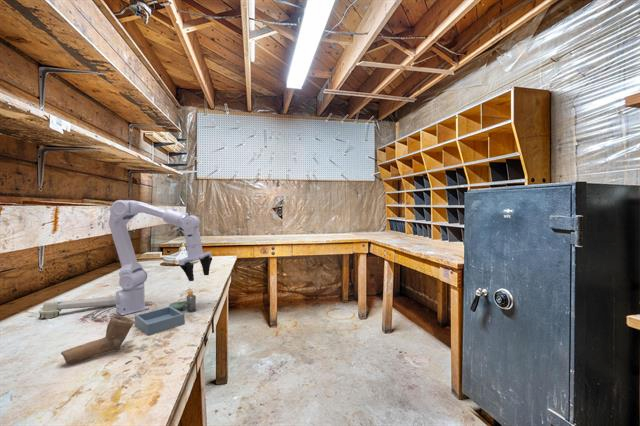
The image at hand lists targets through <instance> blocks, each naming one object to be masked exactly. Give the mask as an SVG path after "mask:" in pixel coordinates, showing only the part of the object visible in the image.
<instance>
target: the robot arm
mask: <svg viewBox="0 0 640 426" xmlns="http://www.w3.org/2000/svg"><path fill="white" fill-rule="evenodd" d="M109 211H110V214H109V220H108V226H109V229H110V233H111V236H112V240H113V243H114V246H115V248H116V253H117V256H118V259H119V262H120V266H121V268H120V269H119V272H118V276H119V280H118V284H119V286H120V288H121V289H120V290H117V291H116V293H115V296H116V306H115V311H116V313H118V314H119V316H126V315H130V314H134V313H138V312H141V311H146V310H149V306H147V305H146V304H145V303H146V299H145V298H146V297H145V282H146V281H147V279H148V273H147V271H146V270H145V269H144V268H143V265H142V264H141V263H140V262H138V260H137V255H136V254H135V250H134V249H135V248H134V247H133V243H132V240H131V236H130V232H129V229H128V227H127V224H129V222H130V220H131V219H133V218H134V217H135V216H137V215H138V214H139V213H142V214H143V213H144V214H146V215H150V216H153V217H157V218H162V220H163V222H164V223H166V224H169V225H172V226H175V227H179V228H181V229H182V230H183V233H184V240H185V247H186V254H187V257H184V258H181V259H178V265H179V267H180V269H182V271H183V272H184V274H185V276H186V278H187V280H188V281H189V282H194V281H195V276H194V265H195V264H194V263H193V262H196V261H199V262H200V264H201V267H202V268H201V269H202V273H203V275H204V276H209V274H210V270H211V269H210V267H211V263H212V261H213V256H212V255H213V254H212V251H205V252H204V251H203V244H202V237H201V232H200V227H199V226H200V225H201V221H200V218H199V217H198V216H196V215H194V214H191V215H189V213H188V212H184V213H183V212H181V211H178V209H177V208H168V209H166V210H165V209H163V208H159V207H157V206H154V205H152V204H149V203H146V202H144V201H143V202H142V201H138V200H135V199H131V200H130V199H127V200H123V199H118V200H115V201H114V202H113V203H111V206H110V207H109Z"/></svg>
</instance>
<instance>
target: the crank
mask: <svg viewBox="0 0 640 426" xmlns="http://www.w3.org/2000/svg"><path fill="white" fill-rule="evenodd" d="M189 295H194V291H193V290H188V291H187V296H189ZM169 306H171V307H173V308H174V309H176V310H179V309H182V308H184V309H185V308H187V299H186V300H183V301H176V302H175V301H174V302H171V303H169V305H168V307H169Z"/></svg>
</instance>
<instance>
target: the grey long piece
mask: <svg viewBox="0 0 640 426" xmlns="http://www.w3.org/2000/svg"><path fill="white" fill-rule="evenodd" d="M114 306H115V307H116V295H112V294H110V295H108V296H99V297H90V298H80V299H71V300H62V301H61V300H60V301H59V300H46V301H44V303H43V305H42V308H41V309H39V310H38V314H39V319H41V320H43V319H46V320H49V319H52V318H57V317H60V312H62V310H70V309H71V310H72V309H85V308H99V307H101V308H102V307H110V308H111V307H114Z"/></svg>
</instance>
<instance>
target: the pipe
mask: <svg viewBox="0 0 640 426" xmlns="http://www.w3.org/2000/svg"><path fill="white" fill-rule="evenodd" d="M109 319H110V320H109V321H108V323H107V327H106V331H105V332H106V333H105V336H104V337H102V338H99V339H95V340H93V341H88V342H85V343H82V344H79V345H76V346H74V347H70V348H69V349H65V350H62V351H61V353H60V354H61V356H62V357H63V359H64V362H65V363H66V364H70V363H74V362H78V361H81V360H84V359H88V358H91V357H95V356H100V355H103V354H107V353H110V352H116V351H117V352H118V351H119V350H120V349H121V346H122V345H123V342H124V341H125V340H126V338H127V336H128V334H129V332H130V330H131V328H132V327H133V325H134V323H135V320H133V319H132V318H129V317H126V316H124V315H112V316H110V318H109Z"/></svg>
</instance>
